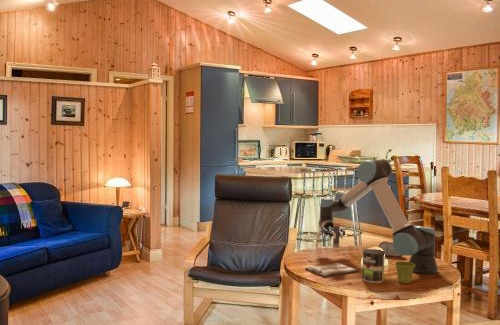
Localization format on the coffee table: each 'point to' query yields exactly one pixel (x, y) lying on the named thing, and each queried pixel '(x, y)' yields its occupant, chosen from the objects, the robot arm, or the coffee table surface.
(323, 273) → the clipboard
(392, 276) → the coffee table surface
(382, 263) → the coffee can
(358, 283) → the coffee table surface
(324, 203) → the robot arm
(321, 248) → the coffee table surface
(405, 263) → the plant pot
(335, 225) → the marker
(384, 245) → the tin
